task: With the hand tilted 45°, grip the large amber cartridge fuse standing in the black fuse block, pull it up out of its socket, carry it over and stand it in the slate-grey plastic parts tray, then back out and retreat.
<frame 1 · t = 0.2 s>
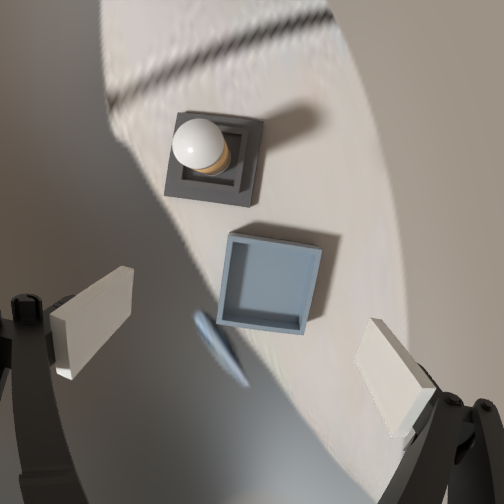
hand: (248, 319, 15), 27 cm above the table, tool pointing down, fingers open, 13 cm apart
parts tray: (266, 281, 43), on the table
fuse block: (213, 158, 40), on the table
blown fuse: (212, 157, 39), point 1 cm above the table, touching fuse block
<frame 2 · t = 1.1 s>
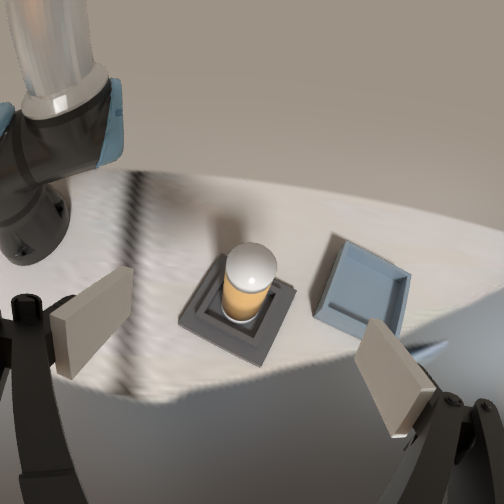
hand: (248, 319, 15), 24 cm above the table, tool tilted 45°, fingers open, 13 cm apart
parts tray: (361, 299, 44), on the table
fuse block: (239, 309, 40), on the table
blown fuse: (239, 306, 40), point 1 cm above the table, touching fuse block
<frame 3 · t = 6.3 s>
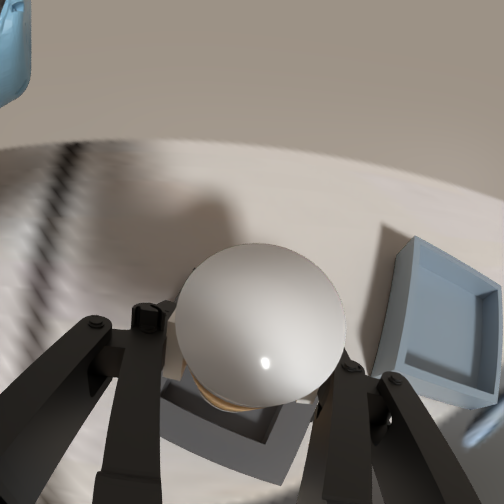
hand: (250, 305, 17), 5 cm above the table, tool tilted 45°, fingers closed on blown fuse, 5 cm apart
parts tray: (438, 333, 23), on the table
fuse block: (232, 377, 19), on the table
blown fuse: (233, 375, 18), point 1 cm above the table, touching fuse block, gripper
when the fingers open (6 cm above the table, at t = 12.5 s): blown fuse drops 1 cm, resting on parts tray.
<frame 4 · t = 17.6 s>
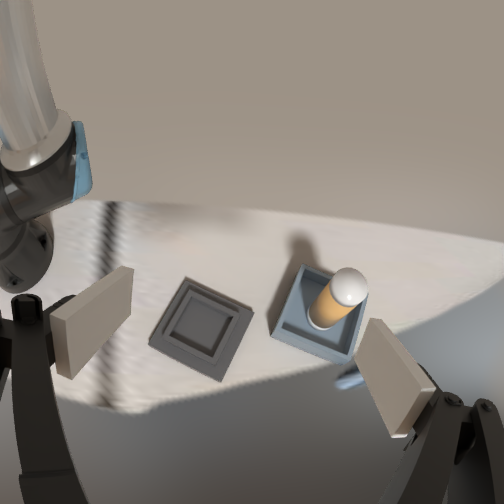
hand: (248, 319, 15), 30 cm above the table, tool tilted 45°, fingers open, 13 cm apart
parts tray: (318, 318, 48), on the table
fuse block: (201, 330, 44), on the table
blown fuse: (320, 316, 47), point 1 cm above the table, touching parts tray
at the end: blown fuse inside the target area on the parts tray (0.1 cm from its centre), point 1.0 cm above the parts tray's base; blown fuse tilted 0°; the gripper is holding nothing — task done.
